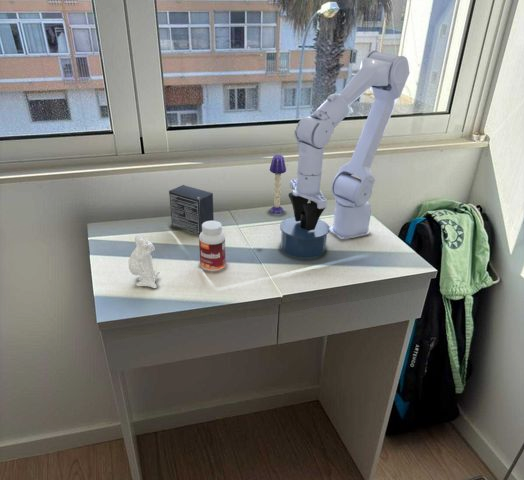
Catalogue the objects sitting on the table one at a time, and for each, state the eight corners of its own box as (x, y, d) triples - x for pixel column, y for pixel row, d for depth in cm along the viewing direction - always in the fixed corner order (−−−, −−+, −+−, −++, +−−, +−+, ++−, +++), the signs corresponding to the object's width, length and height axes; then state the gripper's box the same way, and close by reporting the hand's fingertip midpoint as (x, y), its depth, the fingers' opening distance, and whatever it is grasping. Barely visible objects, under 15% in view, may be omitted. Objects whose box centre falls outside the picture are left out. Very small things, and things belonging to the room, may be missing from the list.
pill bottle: (197, 271, 125) (195, 229, 118) (203, 259, 130) (201, 218, 123) (223, 273, 125) (221, 231, 118) (227, 261, 129) (227, 220, 123)
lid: (312, 217, 139) (314, 200, 136) (338, 236, 130) (340, 219, 127) (271, 225, 134) (272, 207, 131) (294, 245, 126) (296, 227, 123)
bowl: (310, 236, 142) (312, 215, 138) (333, 254, 134) (336, 233, 130) (273, 243, 138) (274, 223, 134) (294, 263, 130) (296, 242, 126)
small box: (215, 228, 144) (214, 192, 137) (201, 237, 139) (199, 200, 133) (185, 219, 148) (183, 183, 141) (170, 227, 144) (167, 190, 137)
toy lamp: (283, 216, 151) (287, 159, 141) (268, 216, 151) (270, 158, 141) (283, 210, 155) (286, 153, 144) (268, 209, 155) (270, 153, 144)
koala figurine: (165, 288, 118) (160, 241, 111) (136, 294, 116) (129, 246, 109) (156, 271, 124) (151, 225, 117) (128, 276, 122) (121, 229, 115)
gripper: (280, 164, 126) (277, 216, 135) (310, 184, 116) (305, 239, 125) (305, 160, 129) (301, 212, 137) (336, 180, 119) (330, 234, 127)
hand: (304, 225), depth 131 cm, fingers open, 5 cm apart
